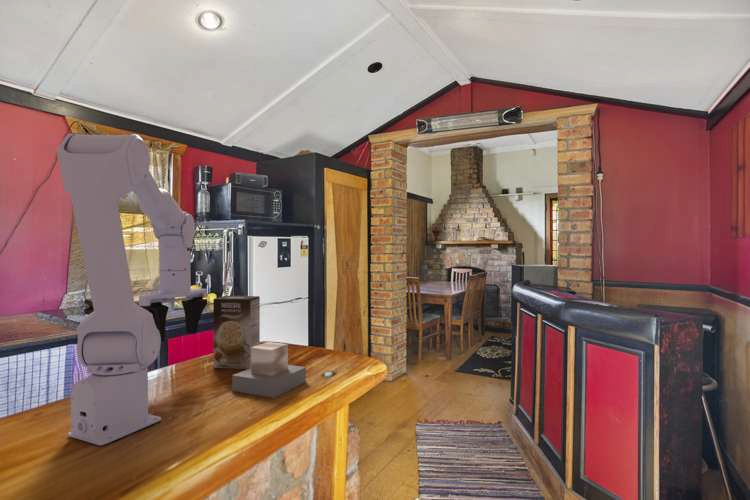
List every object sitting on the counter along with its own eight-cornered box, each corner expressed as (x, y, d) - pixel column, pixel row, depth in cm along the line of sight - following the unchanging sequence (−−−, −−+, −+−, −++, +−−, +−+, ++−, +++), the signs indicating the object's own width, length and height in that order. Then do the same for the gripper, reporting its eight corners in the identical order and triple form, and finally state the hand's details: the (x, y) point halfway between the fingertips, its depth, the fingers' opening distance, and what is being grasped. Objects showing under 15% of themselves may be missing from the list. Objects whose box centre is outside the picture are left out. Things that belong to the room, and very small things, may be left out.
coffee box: (211, 368, 93) (211, 298, 93) (224, 361, 100) (224, 295, 100) (250, 369, 92) (249, 298, 92) (261, 361, 99) (260, 295, 99)
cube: (272, 376, 77) (271, 349, 77) (251, 373, 80) (251, 347, 80) (288, 368, 82) (287, 344, 82) (268, 366, 84) (267, 342, 84)
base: (274, 398, 74) (274, 381, 74) (232, 390, 78) (232, 375, 78) (305, 381, 83) (305, 367, 83) (266, 376, 87) (266, 361, 87)
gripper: (190, 268, 91) (191, 329, 92) (127, 272, 78) (128, 342, 78) (213, 268, 89) (214, 331, 89) (152, 272, 75) (153, 346, 75)
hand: (175, 337), depth 83 cm, fingers open, 7 cm apart
